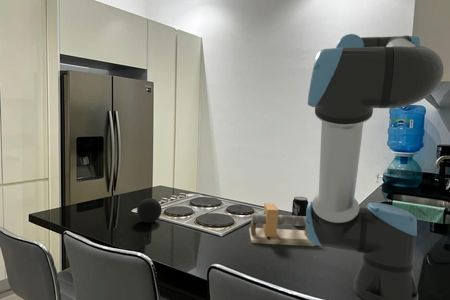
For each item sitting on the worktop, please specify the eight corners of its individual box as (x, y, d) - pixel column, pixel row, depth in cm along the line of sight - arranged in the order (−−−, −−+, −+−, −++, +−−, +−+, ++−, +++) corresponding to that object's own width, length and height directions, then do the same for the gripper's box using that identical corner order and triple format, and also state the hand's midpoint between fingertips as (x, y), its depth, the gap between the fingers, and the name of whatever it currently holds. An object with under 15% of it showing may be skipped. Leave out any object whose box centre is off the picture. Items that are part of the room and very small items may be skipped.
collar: (273, 228, 131) (274, 203, 130) (276, 237, 121) (278, 210, 120) (262, 227, 131) (264, 203, 130) (265, 236, 121) (267, 209, 120)
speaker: (166, 221, 140) (166, 198, 139) (151, 227, 131) (152, 202, 130) (147, 217, 144) (147, 194, 144) (131, 223, 135) (132, 199, 134)
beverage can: (306, 228, 140) (308, 200, 139) (291, 226, 142) (293, 199, 141) (306, 223, 147) (308, 197, 146) (291, 222, 148) (293, 195, 147)
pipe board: (305, 233, 133) (307, 211, 133) (315, 246, 119) (316, 222, 119) (249, 230, 133) (250, 208, 133) (251, 242, 120) (252, 218, 119)
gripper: (359, 90, 114) (354, 159, 115) (322, 88, 113) (317, 156, 114) (370, 87, 106) (364, 160, 107) (330, 85, 105) (325, 158, 107)
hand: (340, 158), depth 111 cm, fingers closed
